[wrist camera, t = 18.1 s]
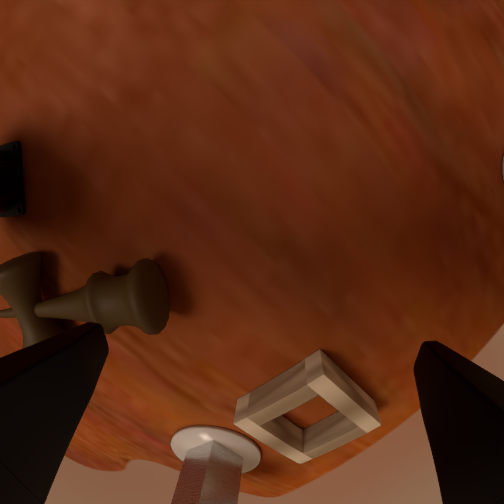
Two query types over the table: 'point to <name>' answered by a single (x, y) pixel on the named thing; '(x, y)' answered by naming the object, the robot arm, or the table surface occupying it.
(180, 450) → the coaster
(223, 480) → the steel peg
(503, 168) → the supplement bottle
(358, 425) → the collar
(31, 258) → the kendama
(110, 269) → the table surface
